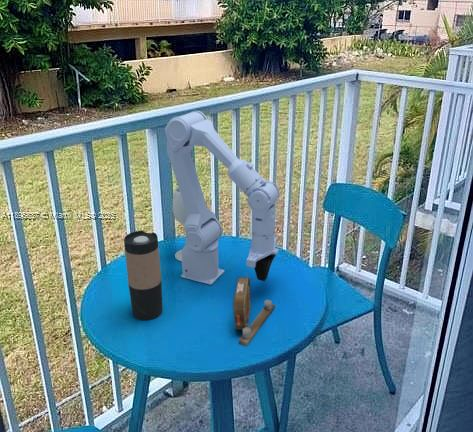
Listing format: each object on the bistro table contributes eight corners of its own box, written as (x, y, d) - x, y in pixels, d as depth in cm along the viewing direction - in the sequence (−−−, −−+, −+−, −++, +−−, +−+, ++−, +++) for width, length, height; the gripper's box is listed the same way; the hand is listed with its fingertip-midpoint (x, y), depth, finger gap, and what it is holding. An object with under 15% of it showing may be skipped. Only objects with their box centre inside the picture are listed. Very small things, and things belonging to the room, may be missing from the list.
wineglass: (172, 262, 138) (168, 194, 129) (177, 248, 146) (173, 183, 137) (202, 262, 137) (199, 194, 129) (205, 249, 145) (203, 183, 137)
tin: (246, 337, 106) (246, 305, 103) (232, 336, 106) (231, 304, 103) (251, 299, 120) (251, 270, 116) (239, 299, 120) (239, 270, 117)
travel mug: (136, 324, 110) (128, 247, 103) (127, 307, 117) (119, 234, 109) (168, 315, 114) (162, 240, 106) (157, 299, 120) (151, 227, 112)
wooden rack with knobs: (238, 343, 104) (238, 333, 103) (267, 305, 117) (267, 296, 116) (246, 345, 103) (247, 336, 102) (274, 307, 116) (275, 298, 115)
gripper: (266, 246, 109) (265, 297, 115) (288, 223, 121) (286, 270, 127) (238, 240, 112) (238, 290, 118) (263, 218, 124) (262, 264, 129)
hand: (262, 279), depth 122 cm, fingers closed
